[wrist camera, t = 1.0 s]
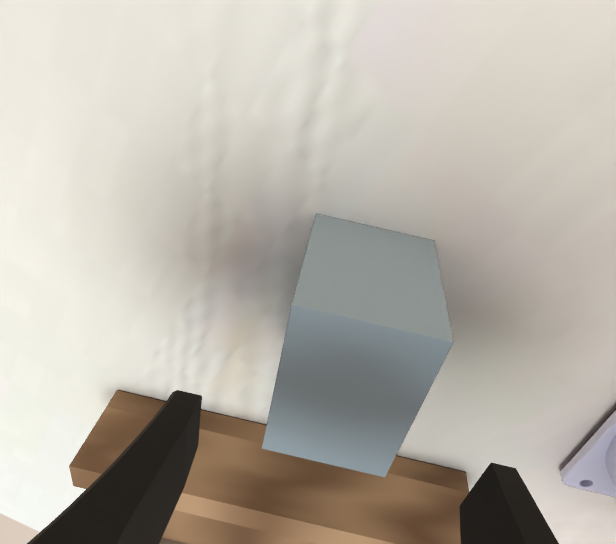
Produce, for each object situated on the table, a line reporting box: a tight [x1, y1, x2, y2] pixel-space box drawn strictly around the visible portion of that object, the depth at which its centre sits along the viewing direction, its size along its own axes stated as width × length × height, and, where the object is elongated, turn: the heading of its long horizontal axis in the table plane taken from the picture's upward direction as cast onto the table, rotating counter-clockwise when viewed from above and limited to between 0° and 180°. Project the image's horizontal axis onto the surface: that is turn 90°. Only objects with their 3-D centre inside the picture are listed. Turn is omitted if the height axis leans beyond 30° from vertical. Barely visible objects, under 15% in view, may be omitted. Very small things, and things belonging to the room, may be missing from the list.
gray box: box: [262, 214, 453, 477], centre depth 15 cm, size 4×6×5 cm, turn 170°
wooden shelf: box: [69, 390, 469, 544], centre depth 23 cm, size 17×13×4 cm
